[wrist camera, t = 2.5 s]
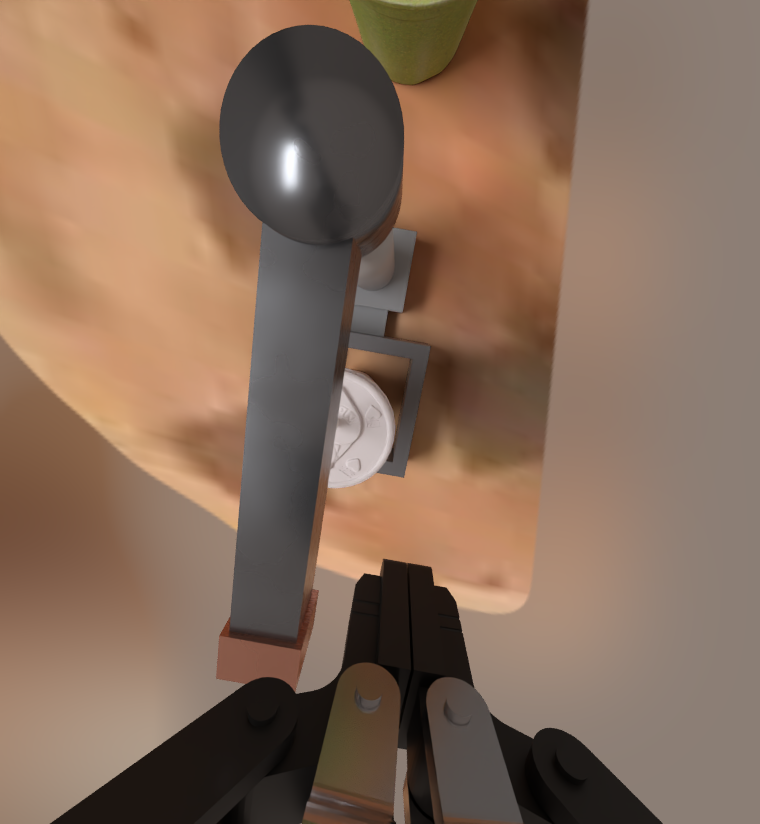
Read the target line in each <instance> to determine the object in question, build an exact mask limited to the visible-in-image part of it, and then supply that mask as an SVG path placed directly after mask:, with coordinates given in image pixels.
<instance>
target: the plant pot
mask: <svg viewBox="0 0 760 824" xmlns="http://www.w3.org/2000/svg"><path fill="white" fill-rule="evenodd" d="M477 1H478V0H350V3H351V6H352V9H353V12H354V15H355V18H356V21H357V25H358V28H359V31H360V34H361V37H362V40H363V43H364V46H365V47H366V48H367V49H368V50H370V51H371V53H372V54H373V55H374V56H375V57H376V58H377V59H378V60H379V62H380V63H381V65H382V66H383V67H384V69H385V70H386V72H387V73H388V75H389V77H390V79H391V80H392V81H394V82H397V83H401V84H408V85H413V84H418V83H420V82H422V81H424V80H426V79H428V78H430V77H432V76H434V75H436V74H438V73H440V72H441V71H442V70H443V69H444V68H445V67H446V66H447V65H448V64H449V62H450V61H451V59H452V58H453V56H454V55H455V53H456V50H457V48H458V46H459V43H460V41H461V39H462V36H463V34H464V32H465V29H466V27H467V24H468V22H469V19H470V17H471V14H472V12H473V10H474V7H475V5H476V3H477Z"/></svg>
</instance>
